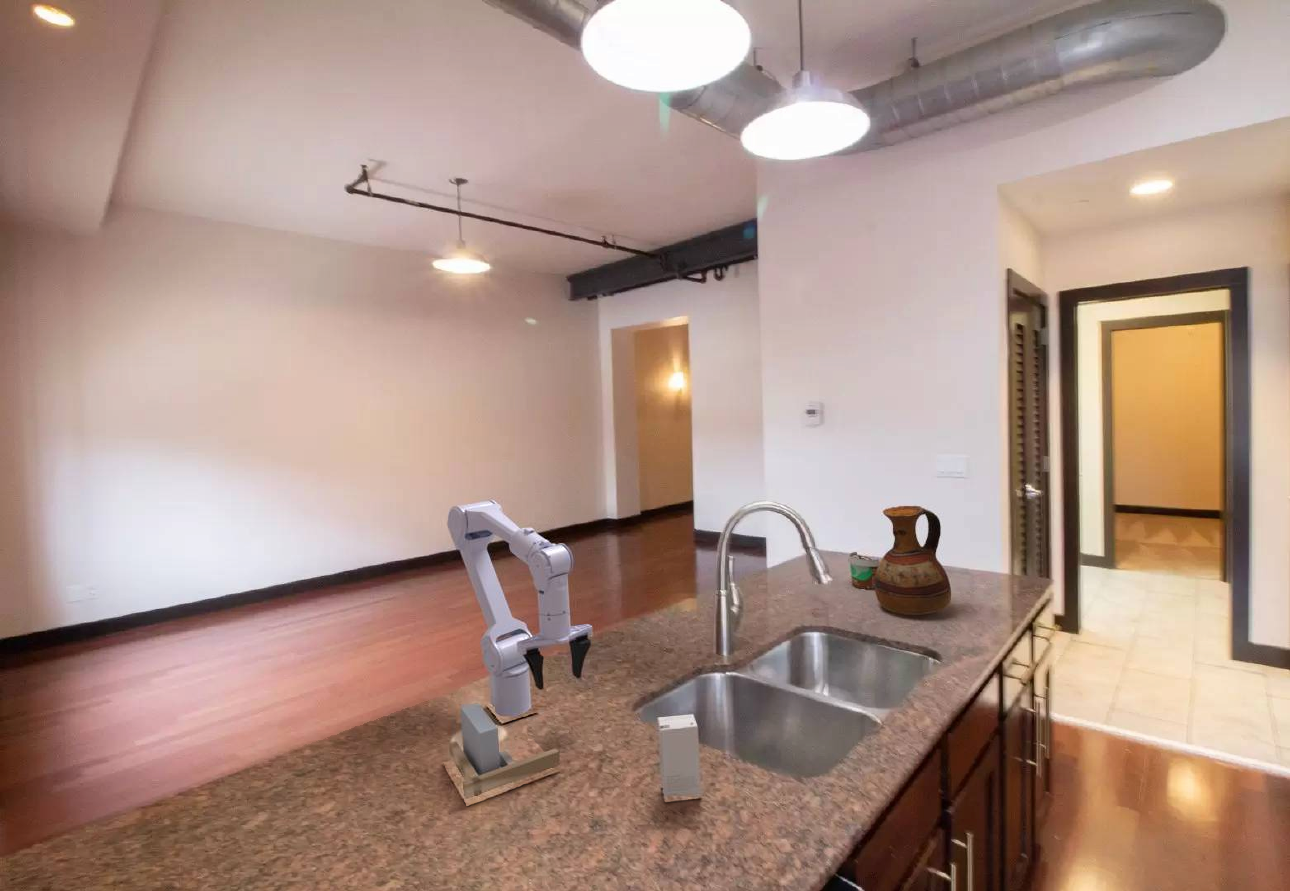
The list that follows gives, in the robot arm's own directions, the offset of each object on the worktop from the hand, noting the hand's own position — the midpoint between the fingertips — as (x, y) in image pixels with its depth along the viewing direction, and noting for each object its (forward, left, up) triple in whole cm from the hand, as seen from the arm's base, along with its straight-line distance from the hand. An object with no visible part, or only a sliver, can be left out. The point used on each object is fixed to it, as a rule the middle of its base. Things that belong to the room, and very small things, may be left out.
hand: (558, 681), depth 117 cm
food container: (-25, +117, -11) cm, 120 cm away
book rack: (+4, -13, -10) cm, 17 cm away
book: (+2, -16, -10) cm, 19 cm away
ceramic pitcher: (-2, +111, -11) cm, 111 cm away
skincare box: (+28, +8, -11) cm, 31 cm away
